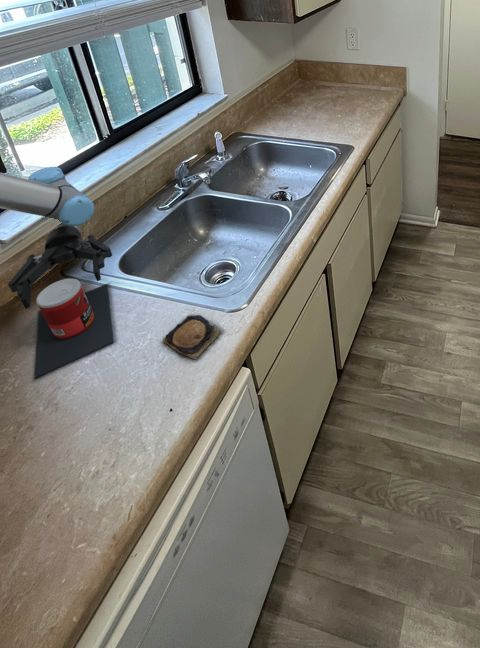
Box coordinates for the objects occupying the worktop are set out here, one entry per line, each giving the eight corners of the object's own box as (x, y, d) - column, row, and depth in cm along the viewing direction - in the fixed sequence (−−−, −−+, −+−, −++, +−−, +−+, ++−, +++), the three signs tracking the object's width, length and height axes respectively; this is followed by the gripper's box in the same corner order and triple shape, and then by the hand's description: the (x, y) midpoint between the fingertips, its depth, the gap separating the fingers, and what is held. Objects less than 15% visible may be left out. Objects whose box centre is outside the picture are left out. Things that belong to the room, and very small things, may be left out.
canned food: (95, 328, 101) (79, 294, 96) (53, 346, 97) (34, 312, 92) (94, 305, 106) (79, 272, 102) (54, 322, 102) (36, 288, 98)
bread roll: (224, 331, 100) (221, 320, 99) (193, 363, 94) (190, 351, 92) (192, 314, 105) (188, 303, 103) (160, 343, 98) (156, 331, 96)
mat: (35, 378, 91) (34, 377, 91) (40, 312, 106) (39, 310, 105) (113, 342, 98) (113, 341, 98) (107, 285, 113) (106, 283, 113)
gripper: (121, 229, 125) (128, 277, 109) (9, 268, 112) (-1, 328, 96) (113, 208, 121) (119, 254, 106) (-3, 246, 109) (-16, 304, 93)
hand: (62, 289), depth 101 cm, fingers open, 13 cm apart
